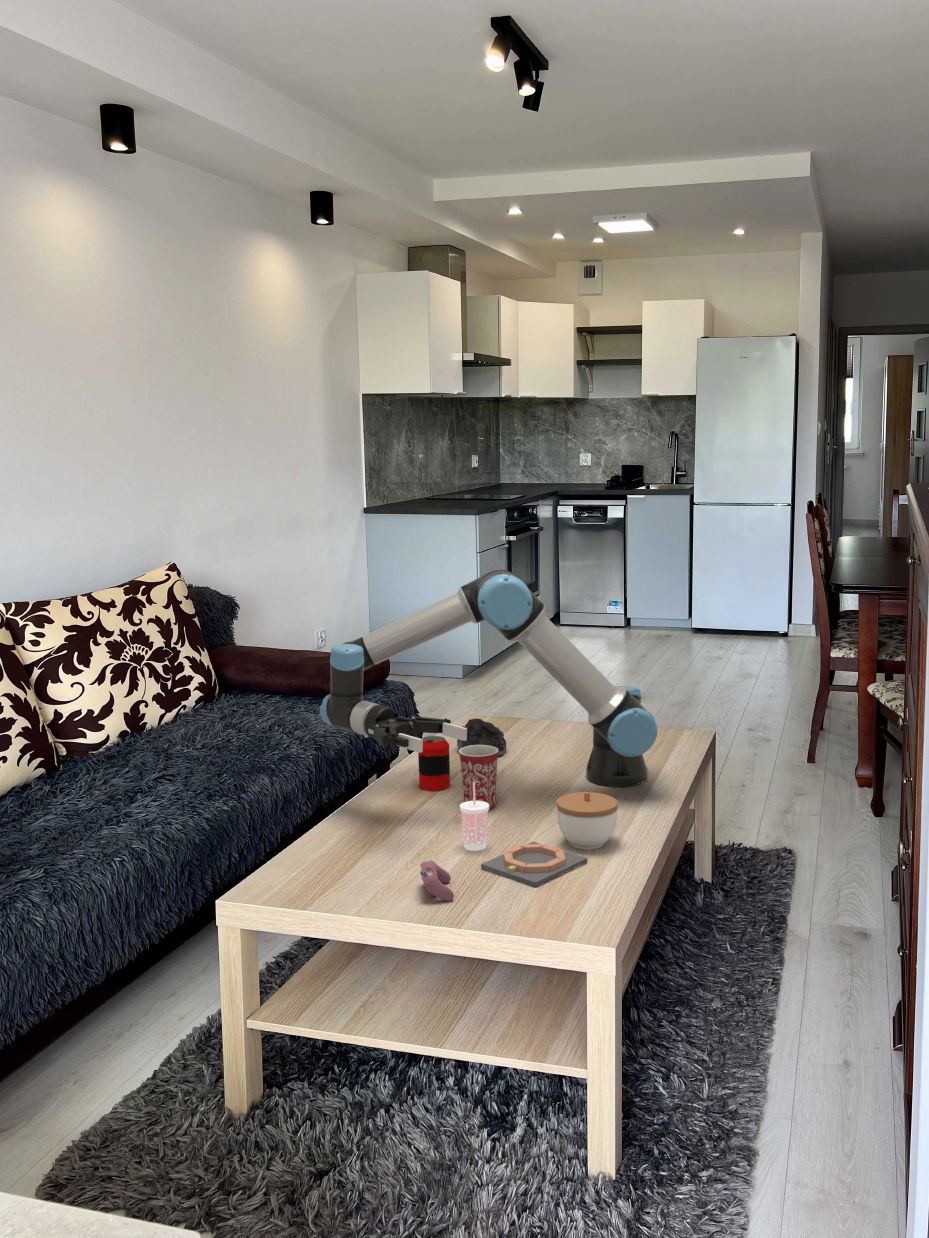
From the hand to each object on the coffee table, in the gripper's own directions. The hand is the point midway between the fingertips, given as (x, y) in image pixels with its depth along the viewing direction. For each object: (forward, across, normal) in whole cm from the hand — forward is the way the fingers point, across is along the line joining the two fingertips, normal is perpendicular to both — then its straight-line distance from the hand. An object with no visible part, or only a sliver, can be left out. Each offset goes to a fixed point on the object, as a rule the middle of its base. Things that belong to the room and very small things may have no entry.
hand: (444, 740), depth 229 cm
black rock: (-35, -53, -21) cm, 67 cm away
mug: (-7, -21, -21) cm, 31 cm away
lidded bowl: (+26, -16, -20) cm, 37 cm away
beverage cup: (+10, 0, -21) cm, 23 cm away
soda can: (-25, -24, -21) cm, 40 cm away
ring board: (+26, 0, -20) cm, 33 cm away
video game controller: (+20, +22, -22) cm, 36 cm away
